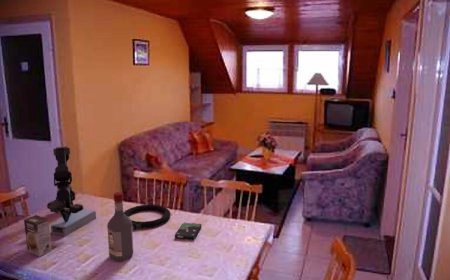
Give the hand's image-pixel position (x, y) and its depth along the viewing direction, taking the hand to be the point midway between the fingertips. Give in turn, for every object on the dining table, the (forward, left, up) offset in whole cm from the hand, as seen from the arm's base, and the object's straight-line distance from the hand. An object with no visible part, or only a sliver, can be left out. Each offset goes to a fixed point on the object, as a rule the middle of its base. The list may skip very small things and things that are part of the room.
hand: (66, 221), depth 182 cm
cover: (-1, +6, -1) cm, 6 cm away
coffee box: (+4, -21, -5) cm, 22 cm away
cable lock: (+30, +27, -6) cm, 41 cm away
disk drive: (+60, +21, -6) cm, 64 cm away
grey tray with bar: (-1, +6, -5) cm, 8 cm away
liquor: (+42, -11, -5) cm, 44 cm away
